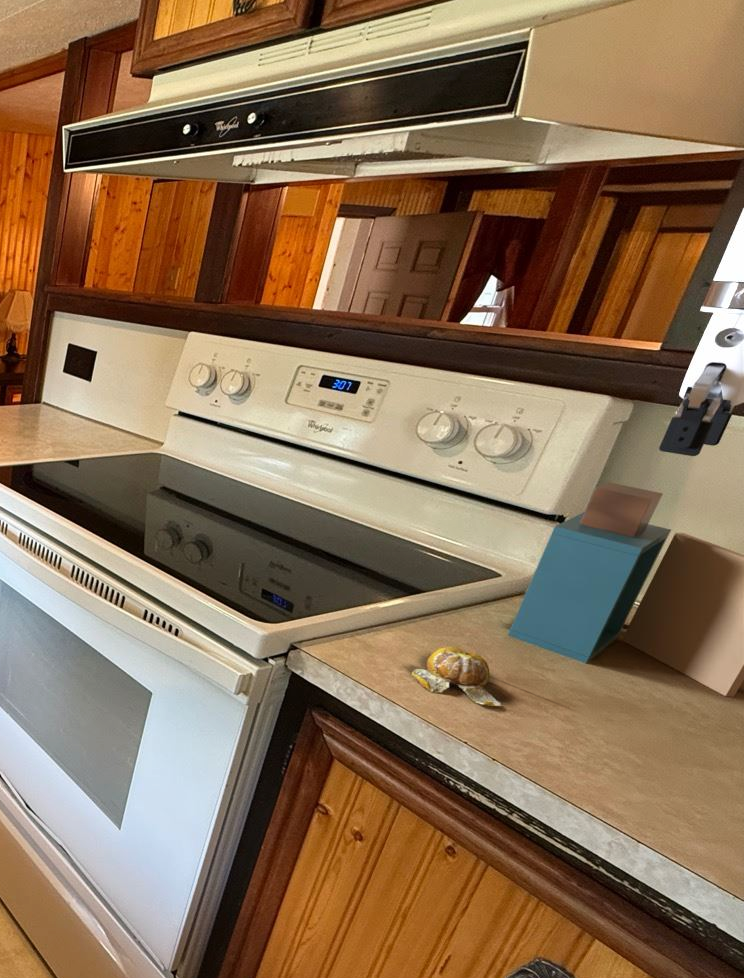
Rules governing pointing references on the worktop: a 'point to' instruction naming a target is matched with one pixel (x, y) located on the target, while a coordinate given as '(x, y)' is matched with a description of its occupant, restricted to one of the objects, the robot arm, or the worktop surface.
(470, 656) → the fruit
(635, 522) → the block
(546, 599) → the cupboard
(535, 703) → the worktop surface
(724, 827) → the worktop surface
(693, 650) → the tan rectangular box
